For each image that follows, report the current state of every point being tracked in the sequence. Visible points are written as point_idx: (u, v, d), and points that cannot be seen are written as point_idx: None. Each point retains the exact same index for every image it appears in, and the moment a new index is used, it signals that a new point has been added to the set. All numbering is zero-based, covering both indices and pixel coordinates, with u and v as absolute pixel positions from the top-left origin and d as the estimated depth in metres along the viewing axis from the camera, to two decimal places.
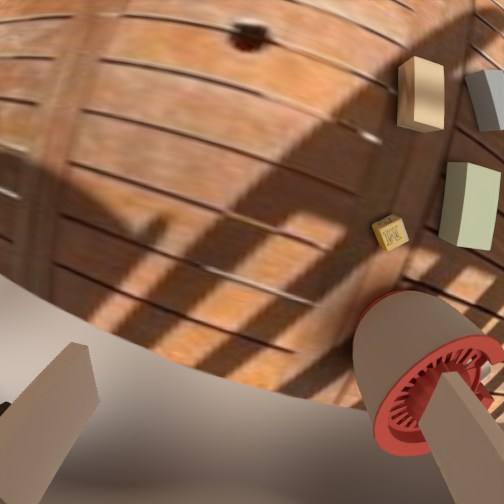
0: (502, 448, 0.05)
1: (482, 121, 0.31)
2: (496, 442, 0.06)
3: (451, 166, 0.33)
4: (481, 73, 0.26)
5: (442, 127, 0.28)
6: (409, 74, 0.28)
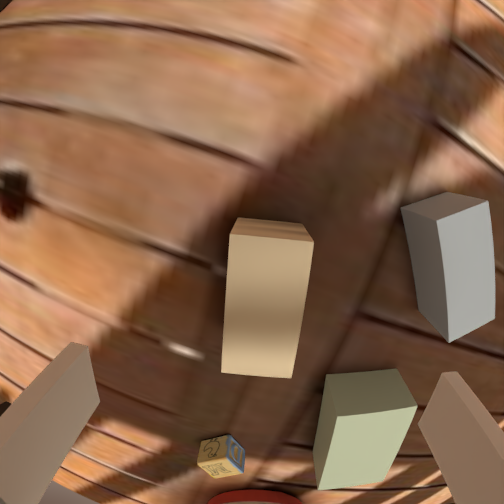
0: (502, 448, 0.05)
1: (424, 302, 0.19)
2: (496, 442, 0.06)
3: (327, 388, 0.22)
4: (430, 224, 0.15)
5: (288, 375, 0.17)
6: None
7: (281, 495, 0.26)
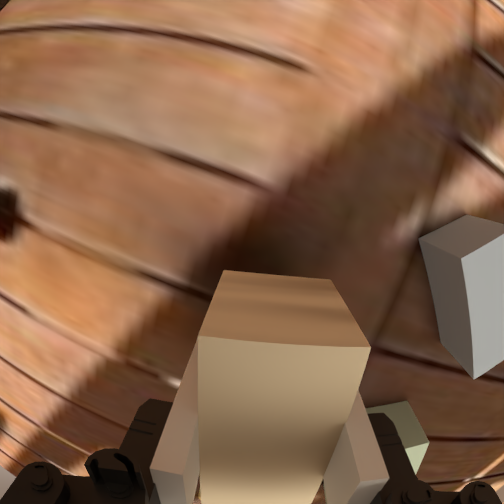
0: (353, 421, 0.07)
1: (446, 335, 0.17)
2: (349, 414, 0.08)
3: None
4: (454, 261, 0.13)
5: None
6: None
7: None
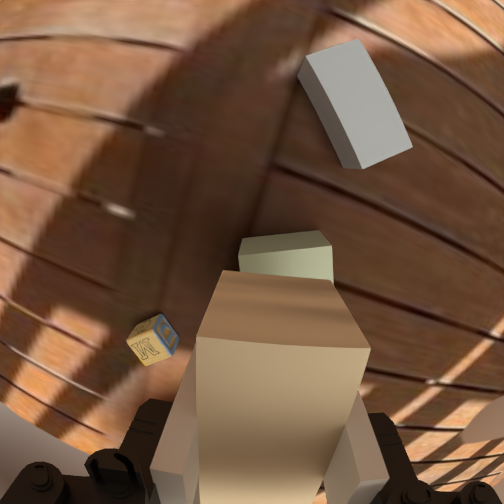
0: (353, 421, 0.07)
1: (339, 151, 0.21)
2: None
3: None
4: (307, 64, 0.17)
5: None
6: None
7: None
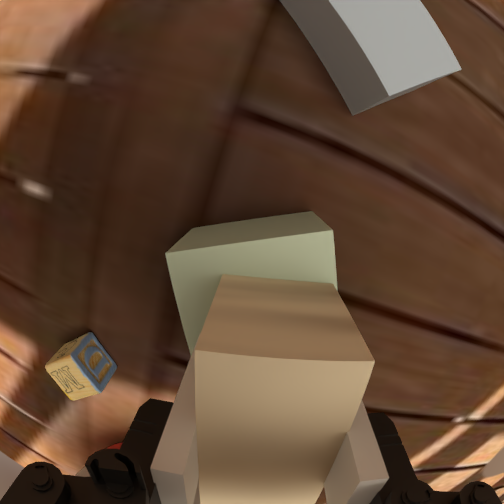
0: (353, 421, 0.07)
1: (346, 85, 0.12)
2: None
3: None
4: None
5: None
6: None
7: None
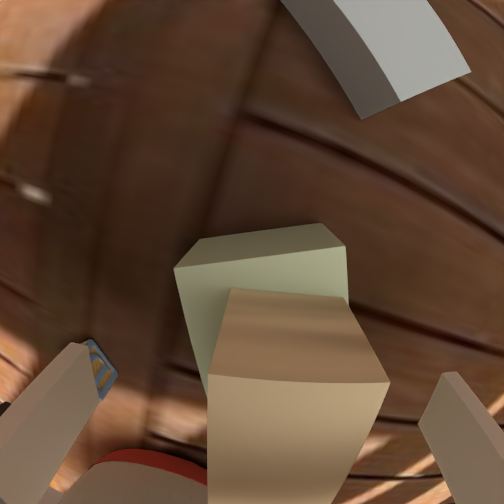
0: (502, 448, 0.05)
1: (354, 90, 0.12)
2: (496, 442, 0.06)
3: None
4: None
5: None
6: None
7: (186, 464, 0.19)
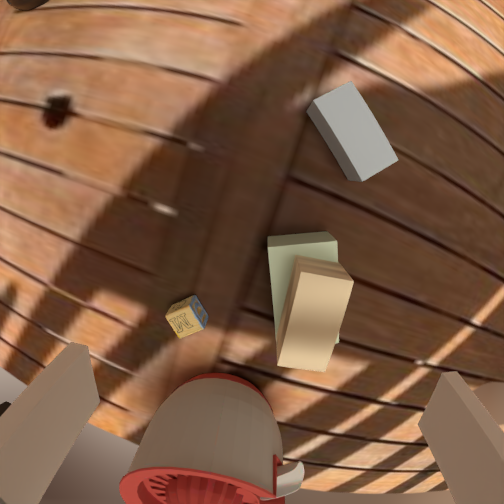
0: (502, 448, 0.05)
1: (344, 168, 0.28)
2: (496, 442, 0.06)
3: None
4: (314, 105, 0.25)
5: (323, 370, 0.24)
6: (293, 290, 0.24)
7: (243, 380, 0.35)
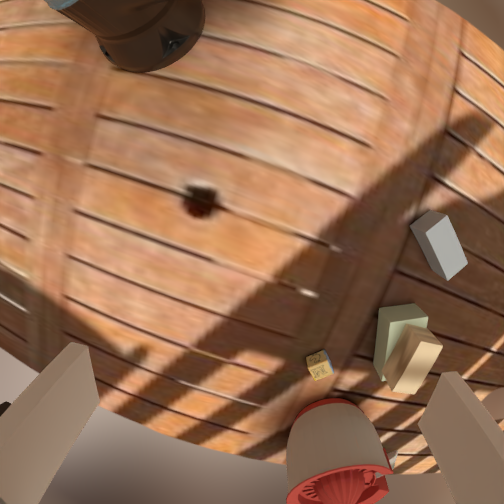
0: (502, 448, 0.05)
1: (432, 265, 0.40)
2: (496, 442, 0.06)
3: (381, 314, 0.42)
4: (423, 233, 0.36)
5: (414, 393, 0.35)
6: (409, 348, 0.35)
7: (348, 401, 0.46)
